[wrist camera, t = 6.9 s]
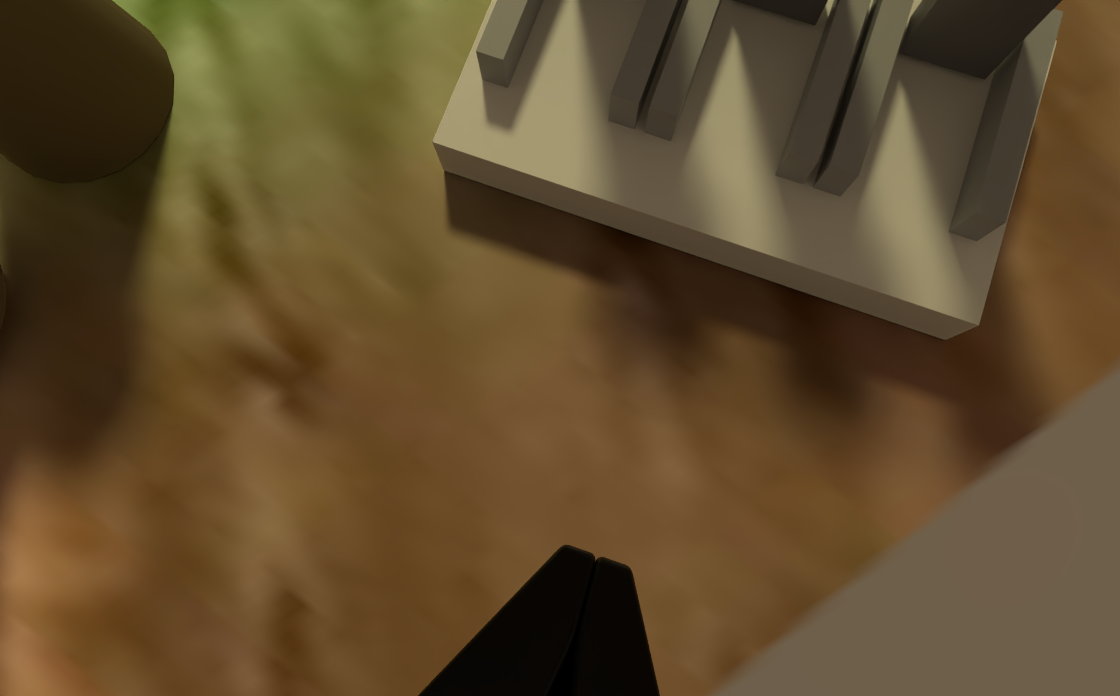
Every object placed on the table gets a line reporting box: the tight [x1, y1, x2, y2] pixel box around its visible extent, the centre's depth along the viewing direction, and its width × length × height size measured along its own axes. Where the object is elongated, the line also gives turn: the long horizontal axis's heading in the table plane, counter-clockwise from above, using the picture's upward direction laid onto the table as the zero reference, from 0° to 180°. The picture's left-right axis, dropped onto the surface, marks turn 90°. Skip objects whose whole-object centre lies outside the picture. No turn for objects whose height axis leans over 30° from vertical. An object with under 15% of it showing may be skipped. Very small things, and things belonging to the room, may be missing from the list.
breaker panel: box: [433, 0, 1063, 340], centre depth 23 cm, size 9×16×4 cm, turn 70°
